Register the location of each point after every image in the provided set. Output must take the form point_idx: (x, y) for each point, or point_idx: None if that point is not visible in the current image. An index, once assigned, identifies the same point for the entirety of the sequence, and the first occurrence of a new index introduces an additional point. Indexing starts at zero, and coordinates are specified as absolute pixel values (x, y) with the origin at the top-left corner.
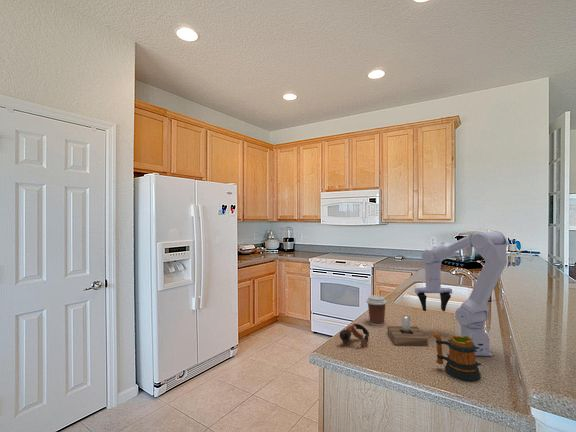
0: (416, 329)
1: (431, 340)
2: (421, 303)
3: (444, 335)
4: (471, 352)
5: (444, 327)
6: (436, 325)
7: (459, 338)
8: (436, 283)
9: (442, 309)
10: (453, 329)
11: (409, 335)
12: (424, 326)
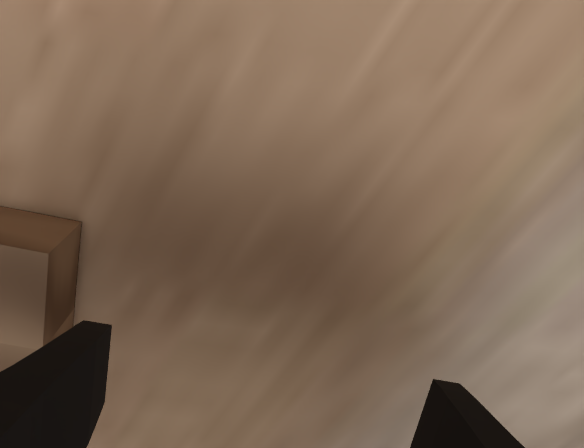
0: (6, 336)
1: (148, 382)
2: (4, 386)
3: (343, 303)
4: None
5: (511, 93)
6: (464, 7)
7: None
8: None
9: (424, 434)
10: (563, 170)
11: None
12: (285, 16)
